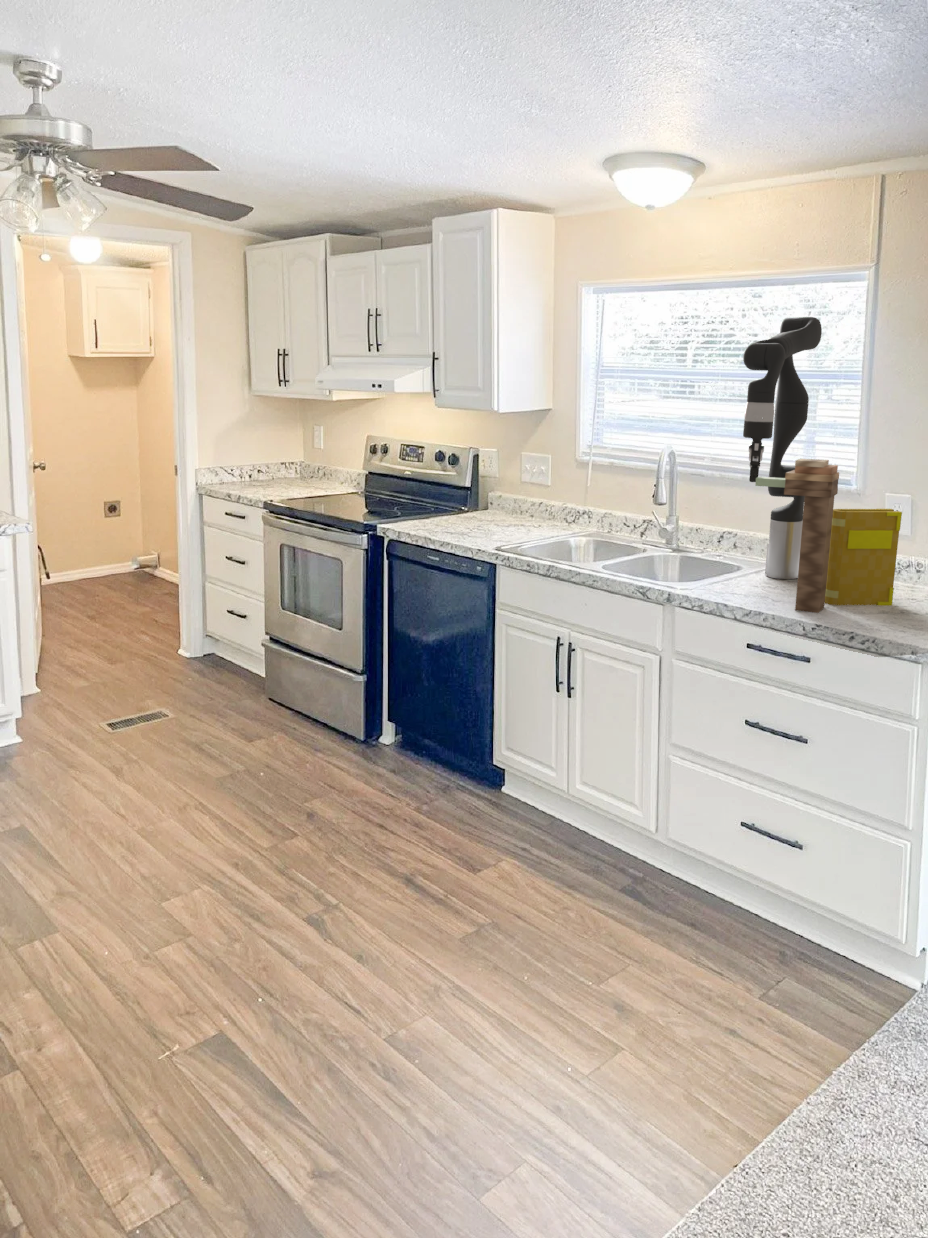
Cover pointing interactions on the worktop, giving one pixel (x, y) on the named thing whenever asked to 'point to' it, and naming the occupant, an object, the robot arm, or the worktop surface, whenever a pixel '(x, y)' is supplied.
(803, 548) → the tall brown wooden column
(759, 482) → the block
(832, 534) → the book
